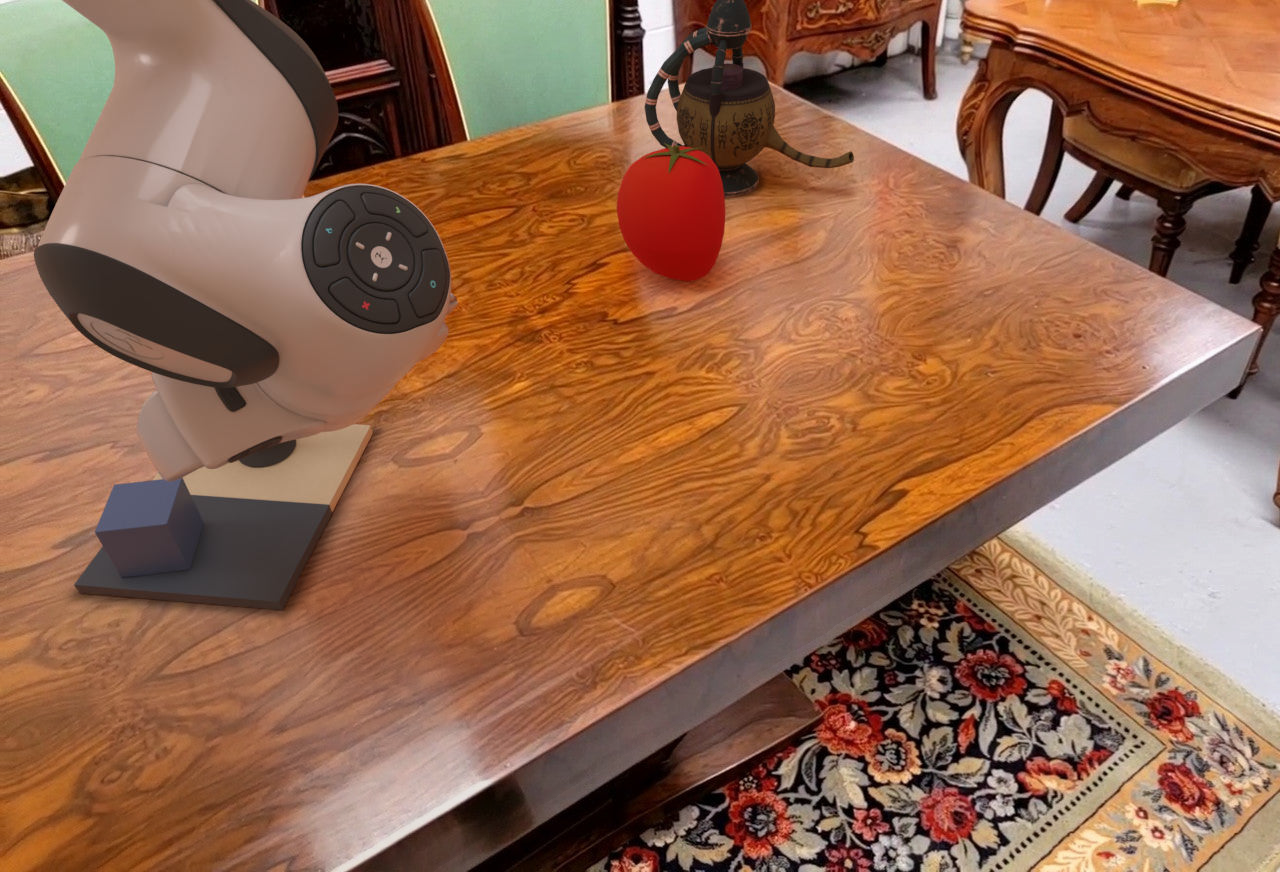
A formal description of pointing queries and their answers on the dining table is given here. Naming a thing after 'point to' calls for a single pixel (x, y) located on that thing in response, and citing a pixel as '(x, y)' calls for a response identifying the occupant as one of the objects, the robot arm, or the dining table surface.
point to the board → (249, 527)
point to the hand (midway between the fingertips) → (287, 408)
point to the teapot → (725, 104)
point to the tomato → (673, 212)
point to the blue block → (150, 527)
